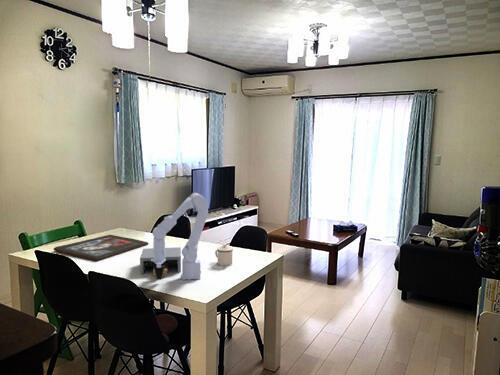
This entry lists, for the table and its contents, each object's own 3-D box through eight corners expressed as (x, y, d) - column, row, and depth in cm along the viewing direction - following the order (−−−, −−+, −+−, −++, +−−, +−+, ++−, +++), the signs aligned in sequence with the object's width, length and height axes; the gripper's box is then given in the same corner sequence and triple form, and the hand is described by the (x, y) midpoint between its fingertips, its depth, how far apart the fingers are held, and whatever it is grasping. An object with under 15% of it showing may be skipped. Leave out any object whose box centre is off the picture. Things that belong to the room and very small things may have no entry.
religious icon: (51, 252, 231) (51, 247, 230) (108, 237, 270) (108, 233, 270) (95, 263, 212) (95, 258, 212) (149, 246, 252) (149, 241, 252)
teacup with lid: (235, 263, 214) (236, 244, 213) (225, 267, 207) (225, 247, 206) (220, 259, 222) (220, 240, 220) (210, 262, 214) (210, 243, 213)
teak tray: (167, 266, 206) (167, 257, 206) (167, 276, 191) (167, 266, 190) (155, 267, 205) (155, 257, 204) (153, 277, 189) (153, 267, 189)
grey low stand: (180, 261, 216) (180, 247, 215) (180, 272, 198) (180, 256, 197) (143, 263, 212) (143, 248, 211) (140, 274, 194) (140, 258, 193)
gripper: (152, 247, 190) (152, 272, 192) (150, 255, 176) (150, 282, 178) (166, 246, 192) (166, 271, 193) (165, 254, 177) (165, 281, 179)
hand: (159, 276), depth 185 cm, fingers open, 7 cm apart
